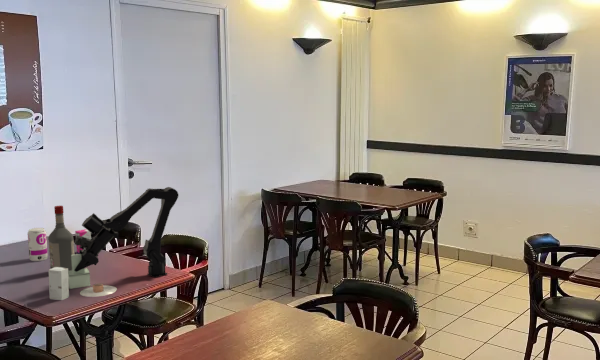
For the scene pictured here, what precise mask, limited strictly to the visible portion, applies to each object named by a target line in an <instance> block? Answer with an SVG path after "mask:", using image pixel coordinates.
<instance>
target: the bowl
mask: <svg viewBox="0 0 600 360" xmlns="http://www.w3.org/2000/svg"><path fill="white" fill-rule="evenodd" d="M103 286H104V283H102V282H101V283H95V284H92V287H93V292H95V293H98V292H103V291H104V287H103Z"/></svg>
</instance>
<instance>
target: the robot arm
mask: <svg viewBox="0 0 600 360" xmlns="http://www.w3.org/2000/svg"><path fill="white" fill-rule="evenodd" d="M153 199H158V200H160V209H159V212H158V215H157V218H156V221H155V224H154V227H153V230H152V233H151V237H150V238H149V239H145V241H144V245H143V247H142V249H143V254H144V255H145V257H146V258H147V259H149V260H150V261H148V266H147V269H148V273H147V276H149V277H150V276H151V277H152V278H159V277H163V276H167V275H168V272H166V257H165V256H164V255H163V253H161V248H162V247H161V246H162V245H161V244H162V237H163V236H164V235H163V234H164V231H165V230H166V229H165V228H166V225H167V222H168V219H169V216H170V212H171V211H172V208H173V207H174V206H175V204H176V202H177V200H178V199H179V192H178V190H177V189H175V188H174V187H170V186H167V187H165V188H147V189H145V191H144V192H143V193H142V194H141V195H140V196H138V198H136V199H135V200H134V201H133V202H132V203H131V204H129V205H128V206H127V207H126V208H125V209H123V210H121V211H119V212H117V213H115V214H113V215H112V216H111V217H110V218H106V219H101V218H100V217H98V216H97V214H95V213H94V212H93V213H92V214H91V215H89V216H88V217H87V218H85V219H84V221H83V222H82V224H81V226H82V227H83V228H84V229H87V230H88V231H90V232H91V235H94V234H95V236H93V237H92V236H91V239H87V238H85V237H81V236H78V235H77V237H76V236H75V240H74V246H76V245H80V248H81V249H82V250H79V251H80V254H81V261H80V262H79V264H78V265H77V267H76V268H75V270H74V271H76V272H77V271H79V270H81V269H86V268H88V267H90V266H93V265H94V266H97V264H99V254H100V253H101V252H102V251H103V250H105V249H106V247H107V245H108V244H109V242H111V240H112V239H113V238H115V239H116V240H119V239H120V238H119V237H120V236H119V231H122V230H124V228H125V227H126V225H128V223H129V222H130V220H131V218H132V217H134V215H136V214H137V213H138V212H139V211H140V210H141V209H142V208H143V207H145V206H146V205H148V203H149V202H150V201H152V200H153ZM82 254H83V255H82Z"/></svg>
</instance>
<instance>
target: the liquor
mask: <svg viewBox="0 0 600 360" xmlns="http://www.w3.org/2000/svg"><path fill="white" fill-rule="evenodd" d="M54 215H55V225H54V226H55V228H54V229H53V230H52V231H51V232H50V234H49V235H48V251H49V253H48V255H49V266H50V269H52V268H54V267H62V268H68V271H70V270H72V260H71V255H75V243H74V242H75V240H74V236H73V233H72V232H71V231H70V230H68V228H66V226H65V220H64V219H65V218H64V205H55V206H54Z"/></svg>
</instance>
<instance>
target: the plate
mask: <svg viewBox="0 0 600 360" xmlns="http://www.w3.org/2000/svg"><path fill="white" fill-rule="evenodd" d="M103 287H104V291H103V292H98V293H95V292H93V286H89V287H87V288H86V287H85V288H84V289H82V290H81V291H79V294H80V296H83V297H88V298H95V297H96V298H98V297H104V296H108V295H111V294H114V293H115V292H116V291H117V290H118V289H117V287H116V286H114V285H103Z"/></svg>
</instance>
